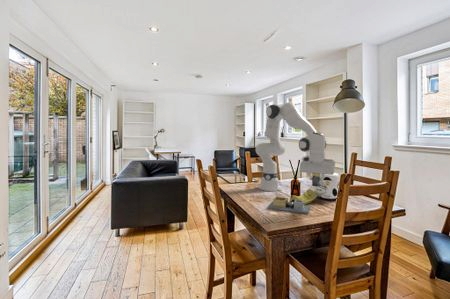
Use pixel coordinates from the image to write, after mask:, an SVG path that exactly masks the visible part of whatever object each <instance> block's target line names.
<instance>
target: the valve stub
mask: <svg viewBox="0 0 450 299" xmlns="http://www.w3.org/2000/svg"><path fill="white" fill-rule="evenodd" d="M311 174H312V175H311V177H312V180H311V186H313V187H315V186H319V185H320V174H318V173H311Z"/></svg>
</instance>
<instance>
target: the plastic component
mask: <svg viewBox="0 0 450 299" xmlns="http://www.w3.org/2000/svg"><path fill="white" fill-rule="evenodd" d="M316 198H318V197H317V194H316V193H315V192H314V190H312V189H311V188H308V189H307V190H305V192H303V193H302V194H301V195H299V196H296V195H295V194H294V195H292V196H291V198H290V199H289V202H291V203H294V201H295V200H303V201H304V205H306V206H307V205H309V204H311V203H312V202H313V201H314V200H316Z"/></svg>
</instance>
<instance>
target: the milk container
mask: <svg viewBox="0 0 450 299" xmlns="http://www.w3.org/2000/svg"><path fill="white" fill-rule="evenodd" d="M321 177H322V174H320V178H321ZM339 182H340V175H339V173H336V172H334V174H333V175H329V174H324V177H323V178H322V181H320V185H319V186H314V190H313V191H314V192H315V193H316V194H317V197H316V198H319V199H322V200H336V198H337V192H338V186H339V185H340V183H339ZM339 187H340V186H339ZM337 199H338V198H337Z"/></svg>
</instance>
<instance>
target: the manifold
mask: <svg viewBox="0 0 450 299" xmlns="http://www.w3.org/2000/svg"><path fill="white" fill-rule="evenodd" d="M267 209H270V210H275V211H283V212H288V213H289V212H291V213H295V214H296V213H297V214H303V215H309V212H310V209H311V205H307V204H306V205H304V201H303V200H295V201H293V202H290V201H289V198H288V197H284V196H283V197H282V196H275V197H274V198H273V199H272V201H271V202H270V204H268V206H267Z"/></svg>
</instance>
